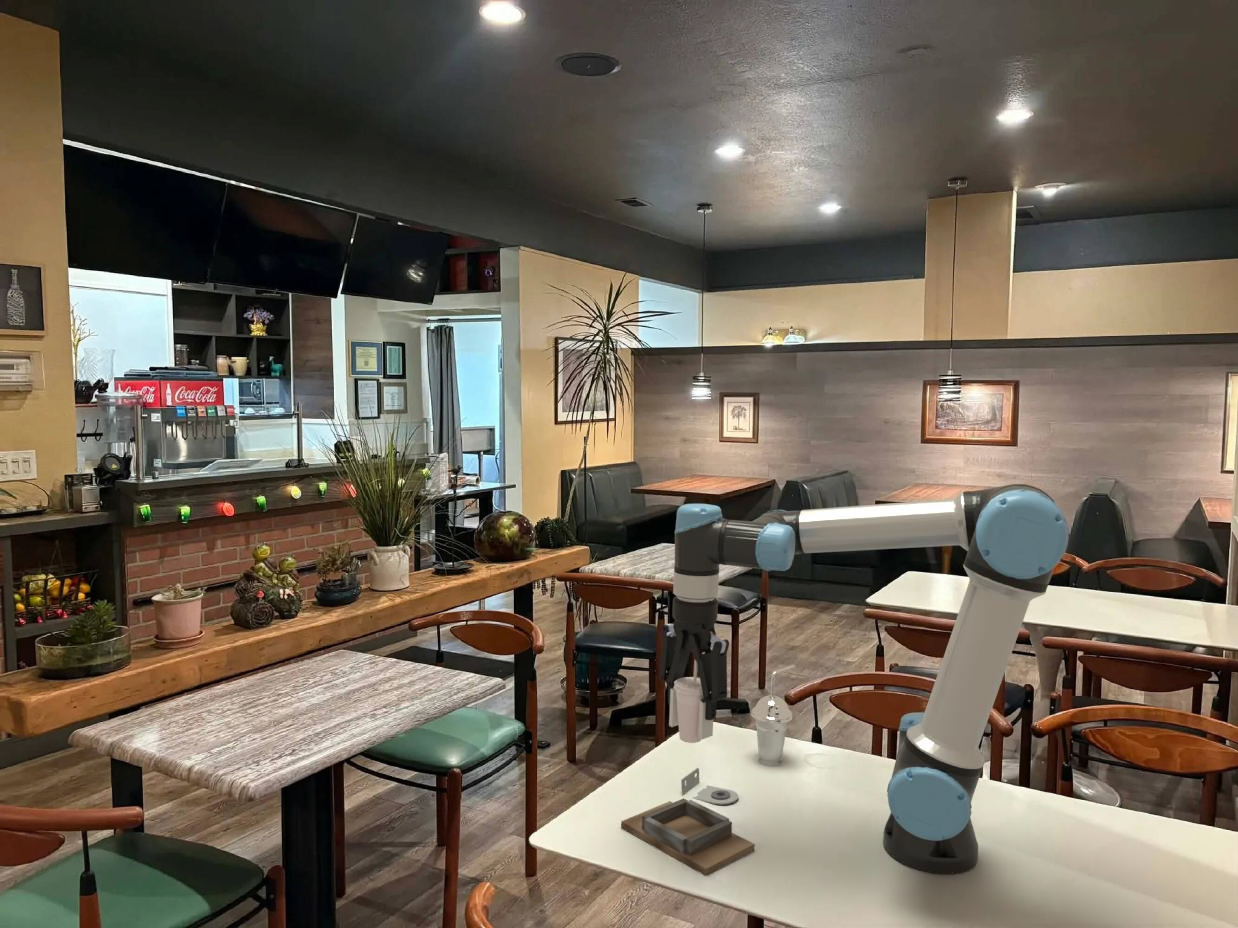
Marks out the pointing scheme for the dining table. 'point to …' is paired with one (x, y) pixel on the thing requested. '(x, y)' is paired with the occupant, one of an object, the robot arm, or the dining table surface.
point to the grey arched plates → (708, 791)
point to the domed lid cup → (771, 724)
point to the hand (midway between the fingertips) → (690, 730)
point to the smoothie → (688, 706)
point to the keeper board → (690, 835)
